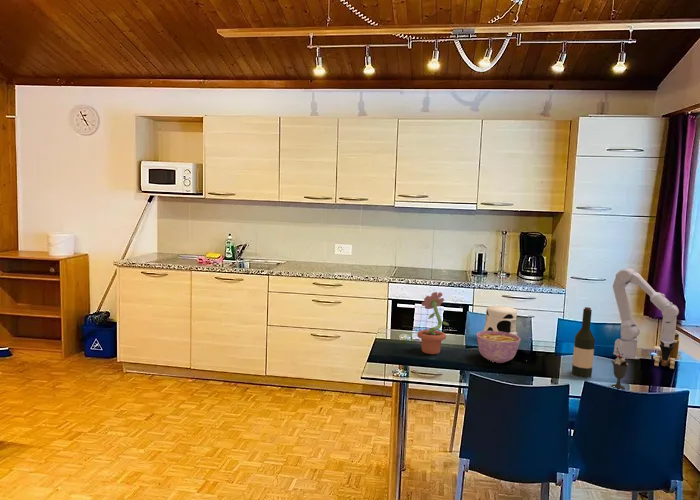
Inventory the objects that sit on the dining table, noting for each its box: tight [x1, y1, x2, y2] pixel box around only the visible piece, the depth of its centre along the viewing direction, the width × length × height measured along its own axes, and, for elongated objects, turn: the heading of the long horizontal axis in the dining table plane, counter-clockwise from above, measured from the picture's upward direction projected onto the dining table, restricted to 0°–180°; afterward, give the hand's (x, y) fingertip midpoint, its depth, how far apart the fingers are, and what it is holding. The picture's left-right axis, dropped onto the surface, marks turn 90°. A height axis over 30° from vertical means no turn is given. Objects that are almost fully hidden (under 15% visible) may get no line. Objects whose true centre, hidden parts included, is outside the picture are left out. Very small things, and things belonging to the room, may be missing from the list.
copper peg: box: [660, 355, 670, 367], centre depth 255 cm, size 3×3×7 cm
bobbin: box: [652, 345, 662, 360], centre depth 264 cm, size 6×6×6 cm
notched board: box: [653, 354, 676, 370], centre depth 256 cm, size 10×8×2 cm
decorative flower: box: [416, 291, 450, 355], centre depth 257 cm, size 15×14×30 cm
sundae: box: [611, 350, 630, 390], centre depth 221 cm, size 7×7×15 cm
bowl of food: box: [476, 330, 521, 364], centre depth 250 cm, size 20×20×12 cm
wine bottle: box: [571, 306, 596, 379], centre depth 234 cm, size 8×8×30 cm
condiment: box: [669, 332, 681, 360], centre depth 269 cm, size 7×8×12 cm
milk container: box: [482, 305, 518, 336], centre depth 282 cm, size 17×17×18 cm
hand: (665, 358), depth 255 cm, fingers open, 7 cm apart
